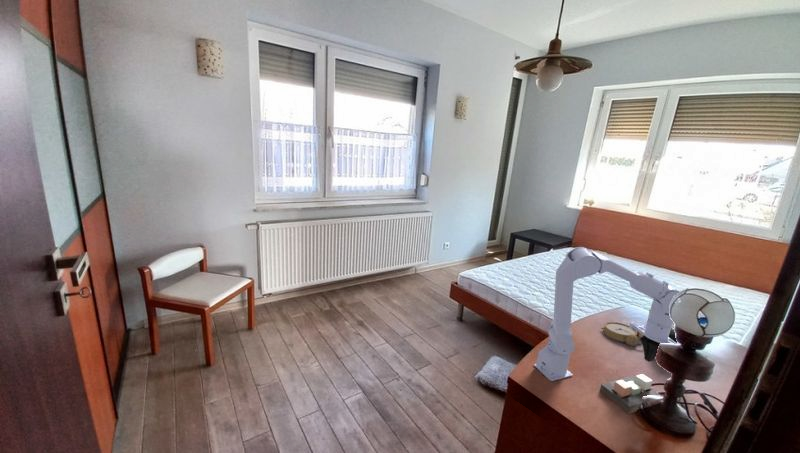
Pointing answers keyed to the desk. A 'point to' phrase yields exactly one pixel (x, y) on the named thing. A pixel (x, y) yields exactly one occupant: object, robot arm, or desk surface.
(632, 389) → the pale green cube
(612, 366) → the desk surface
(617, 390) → the peach cube
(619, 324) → the alarm clock
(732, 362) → the desk surface
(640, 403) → the console
